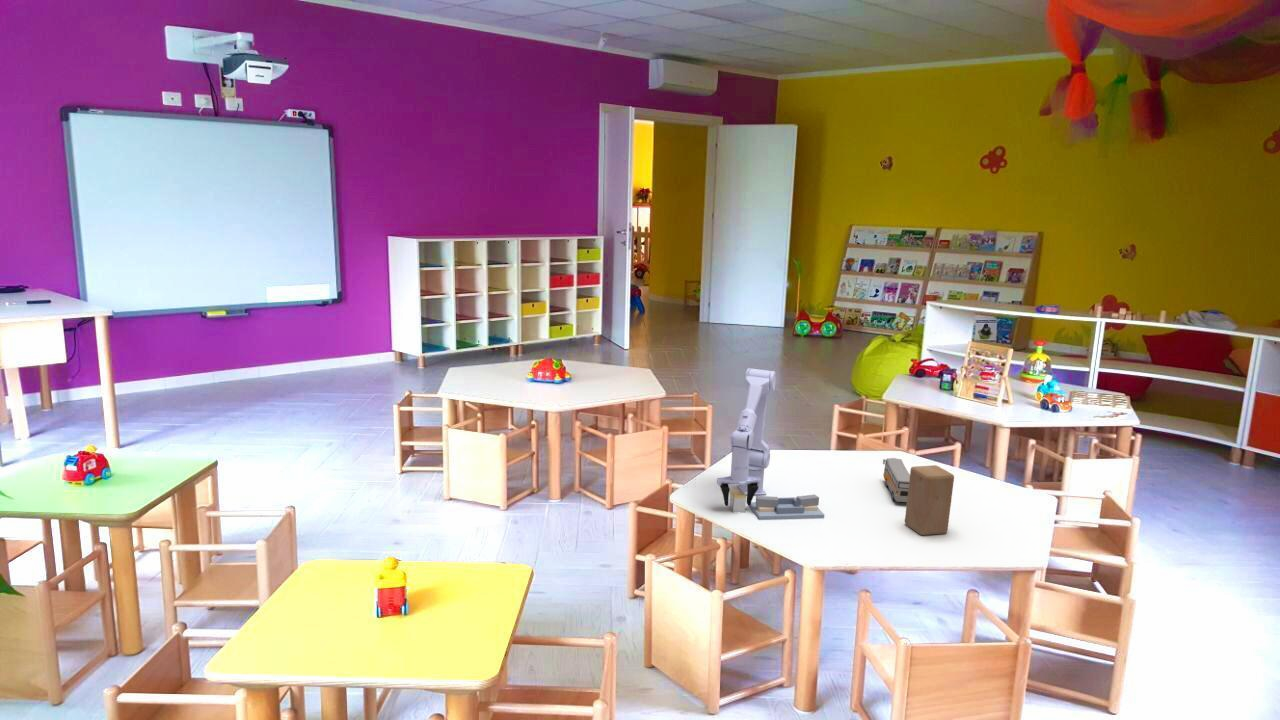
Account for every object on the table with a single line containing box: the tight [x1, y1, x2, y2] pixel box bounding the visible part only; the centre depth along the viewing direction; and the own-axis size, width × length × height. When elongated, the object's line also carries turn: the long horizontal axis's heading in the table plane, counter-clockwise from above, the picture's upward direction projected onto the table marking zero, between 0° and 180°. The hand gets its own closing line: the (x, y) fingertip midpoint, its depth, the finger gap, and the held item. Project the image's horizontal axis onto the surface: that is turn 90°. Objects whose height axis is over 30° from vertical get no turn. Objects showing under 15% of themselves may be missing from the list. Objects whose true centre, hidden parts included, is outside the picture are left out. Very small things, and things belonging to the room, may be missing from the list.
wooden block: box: [904, 464, 955, 536], centre depth 270 cm, size 10×10×20 cm
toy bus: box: [882, 457, 910, 503], centre depth 301 cm, size 7×26×10 cm, turn 174°
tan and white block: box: [728, 489, 747, 513], centre depth 281 cm, size 5×4×6 cm
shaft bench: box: [749, 494, 825, 521], centre depth 281 cm, size 12×22×5 cm, turn 99°
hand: (737, 504), depth 281 cm, fingers open, 7 cm apart
